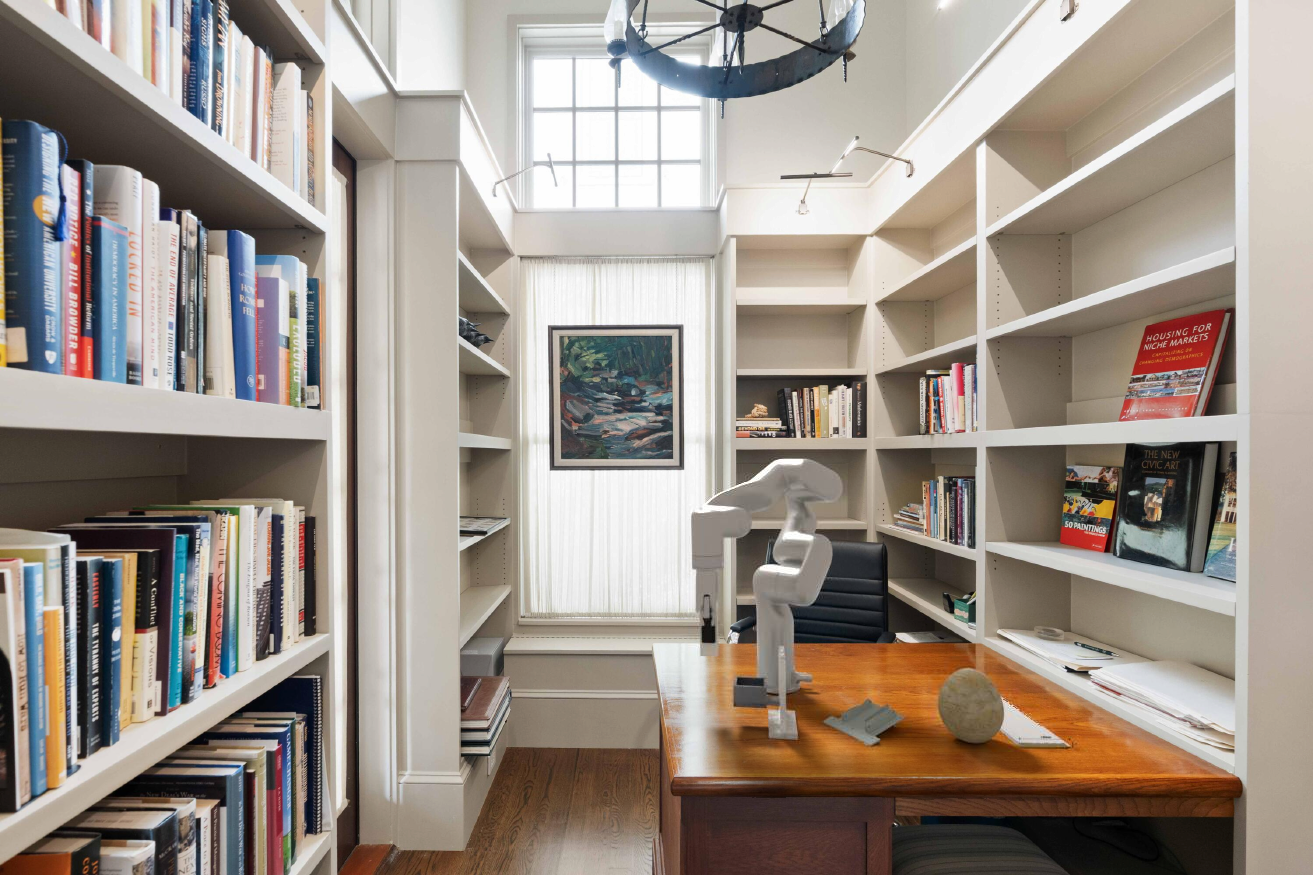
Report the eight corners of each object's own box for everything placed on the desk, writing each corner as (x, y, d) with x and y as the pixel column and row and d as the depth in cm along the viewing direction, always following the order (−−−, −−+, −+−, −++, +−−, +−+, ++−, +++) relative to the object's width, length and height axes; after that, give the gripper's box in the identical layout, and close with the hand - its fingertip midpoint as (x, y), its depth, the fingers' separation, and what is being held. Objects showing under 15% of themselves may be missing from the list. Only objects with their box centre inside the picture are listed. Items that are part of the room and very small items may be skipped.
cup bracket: (794, 715, 161) (794, 645, 161) (797, 739, 147) (797, 662, 148) (735, 712, 163) (735, 643, 163) (732, 735, 149) (732, 660, 150)
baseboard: (1007, 700, 174) (958, 699, 174) (1006, 688, 174) (958, 688, 174) (1078, 750, 143) (1019, 750, 143) (1078, 736, 143) (1018, 735, 143)
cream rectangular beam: (718, 651, 166) (717, 604, 166) (717, 656, 162) (716, 608, 162) (701, 650, 166) (700, 604, 166) (700, 655, 162) (699, 608, 162)
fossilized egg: (1016, 743, 145) (1015, 670, 146) (983, 758, 138) (982, 681, 138) (959, 725, 155) (958, 657, 156) (926, 737, 148) (925, 666, 148)
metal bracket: (863, 689, 163) (913, 709, 149) (869, 713, 163) (919, 735, 150) (816, 716, 156) (863, 740, 143) (822, 740, 157) (870, 766, 143)
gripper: (695, 556, 173) (696, 630, 173) (688, 567, 157) (689, 649, 156) (725, 556, 172) (727, 631, 172) (721, 568, 155) (723, 650, 155)
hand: (709, 639), depth 164 cm, fingers closed on cream rectangular beam, 4 cm apart
